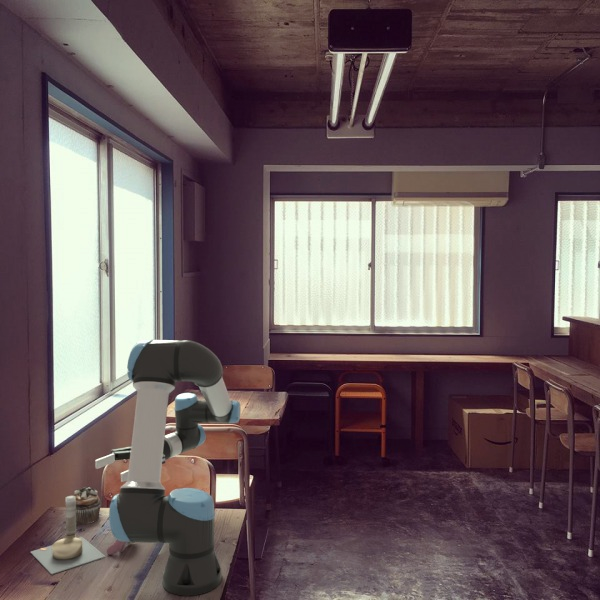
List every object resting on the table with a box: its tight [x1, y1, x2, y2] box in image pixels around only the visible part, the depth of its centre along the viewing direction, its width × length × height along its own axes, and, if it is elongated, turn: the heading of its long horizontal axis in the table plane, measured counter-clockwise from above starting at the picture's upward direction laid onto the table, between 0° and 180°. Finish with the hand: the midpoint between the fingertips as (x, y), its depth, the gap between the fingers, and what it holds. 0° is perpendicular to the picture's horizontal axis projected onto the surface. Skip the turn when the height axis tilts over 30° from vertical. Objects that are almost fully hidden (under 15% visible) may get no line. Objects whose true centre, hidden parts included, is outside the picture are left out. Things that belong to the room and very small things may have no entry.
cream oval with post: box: [52, 495, 82, 560], centre depth 176 cm, size 12×8×14 cm
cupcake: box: [73, 485, 102, 524], centre depth 199 cm, size 10×10×10 cm
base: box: [30, 536, 106, 576], centre depth 174 cm, size 17×15×1 cm
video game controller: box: [106, 539, 132, 556], centre depth 178 cm, size 10×5×7 cm, turn 169°
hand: (108, 471), depth 186 cm, fingers open, 13 cm apart
